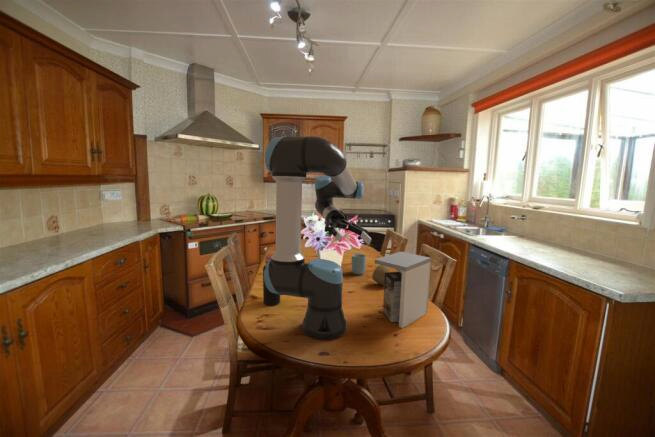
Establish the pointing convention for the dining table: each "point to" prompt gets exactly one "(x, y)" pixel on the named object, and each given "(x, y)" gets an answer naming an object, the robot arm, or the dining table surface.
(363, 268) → the cup
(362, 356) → the dining table surface
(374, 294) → the dining table surface
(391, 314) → the coffee box
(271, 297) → the bottle
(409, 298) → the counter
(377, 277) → the natural sponge
